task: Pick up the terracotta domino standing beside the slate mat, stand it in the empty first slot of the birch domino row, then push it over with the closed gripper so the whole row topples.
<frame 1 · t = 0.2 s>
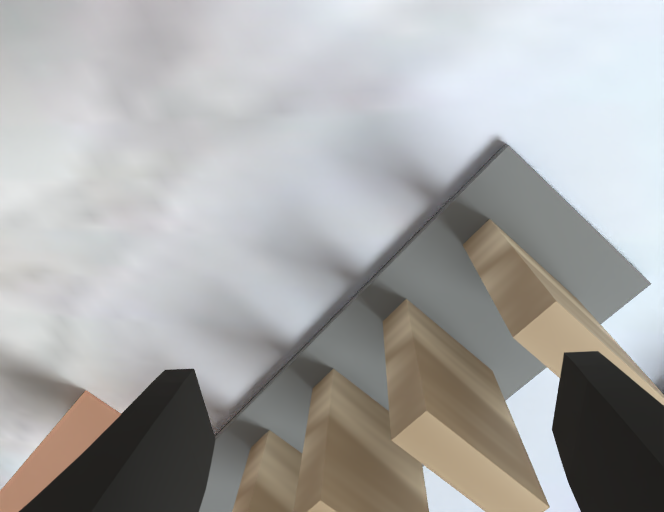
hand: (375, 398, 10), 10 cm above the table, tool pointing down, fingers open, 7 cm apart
domino 4: (438, 346, 21), resting on slate mat
slate mat: (365, 405, 23), on the table
domino 3: (365, 411, 22), resting on slate mat
domino 2: (301, 468, 24), resting on slate mat
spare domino: (122, 429, 24), on the table
domino 5: (521, 272, 20), resting on slate mat
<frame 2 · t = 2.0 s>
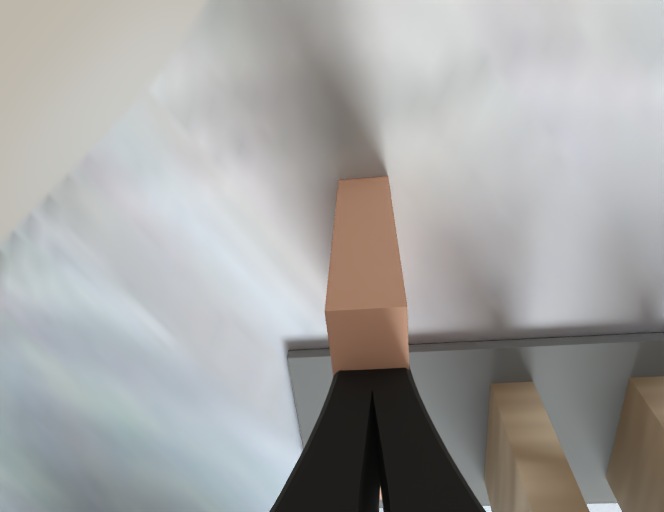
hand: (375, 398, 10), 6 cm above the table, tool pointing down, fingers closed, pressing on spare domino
slate mat: (632, 421, 18), on the table
domino 3: (637, 430, 18), resting on slate mat
domino 2: (507, 434, 18), resting on slate mat
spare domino: (368, 248, 16), on the table, touching gripper
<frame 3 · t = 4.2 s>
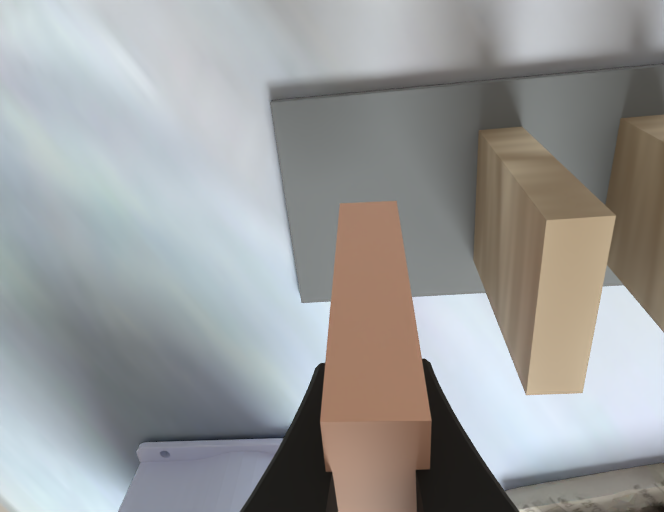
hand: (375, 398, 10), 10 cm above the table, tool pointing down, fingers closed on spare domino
slate mat: (623, 184, 18), on the table
domino 3: (629, 188, 17), resting on slate mat
domino 2: (496, 198, 18), resting on slate mat
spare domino: (371, 287, 14), point 6 cm above the table, touching gripper
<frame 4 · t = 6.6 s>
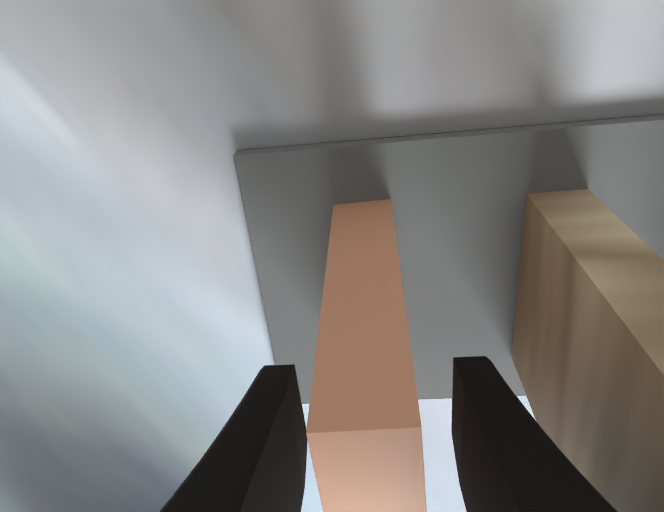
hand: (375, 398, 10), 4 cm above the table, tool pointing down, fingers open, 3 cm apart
domino 2: (546, 281, 13), resting on slate mat
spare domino: (371, 288, 13), resting on slate mat
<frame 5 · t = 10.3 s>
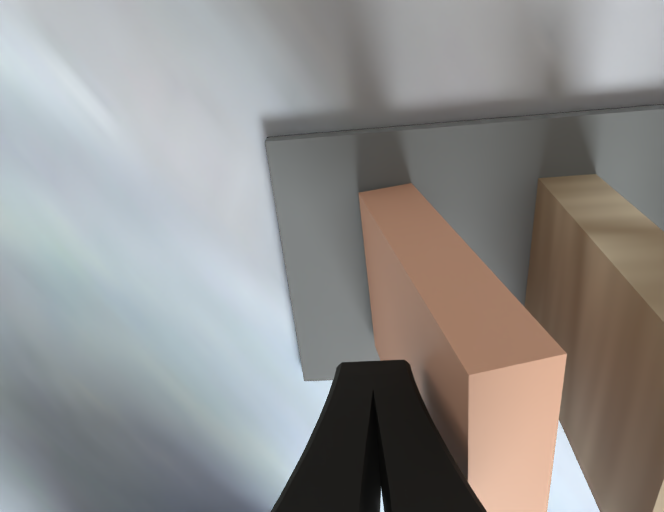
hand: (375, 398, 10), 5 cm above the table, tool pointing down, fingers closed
domino 2: (555, 261, 14), resting on slate mat
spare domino: (391, 271, 14), point 1 cm above the table, tilted 12°, touching slate mat
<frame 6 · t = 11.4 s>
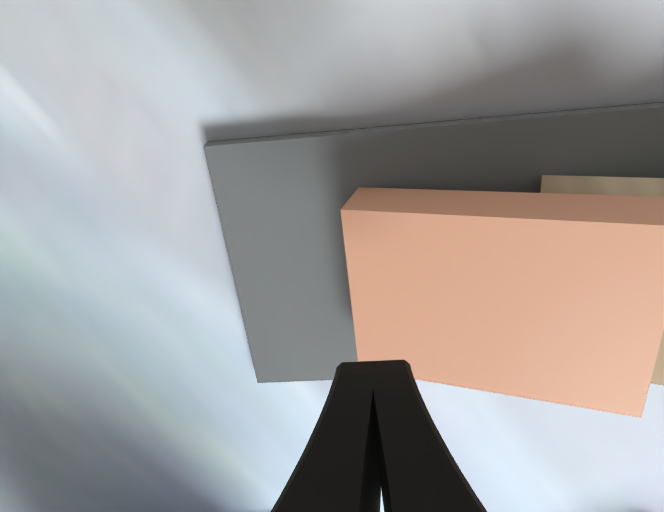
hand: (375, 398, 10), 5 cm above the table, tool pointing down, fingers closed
slate mat: (660, 247, 14), on the table
domino 2: (532, 273, 13), point 1 cm above the table, tilted 72°, touching domino 3, slate mat, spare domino
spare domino: (358, 282, 14), point 1 cm above the table, tilted 72°, touching domino 2, slate mat
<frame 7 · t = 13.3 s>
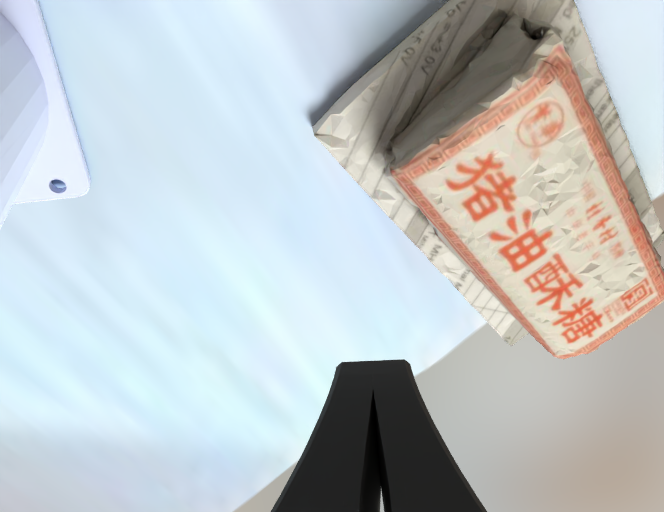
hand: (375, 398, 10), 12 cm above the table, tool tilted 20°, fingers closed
packaged product: (504, 181, 24), on the table
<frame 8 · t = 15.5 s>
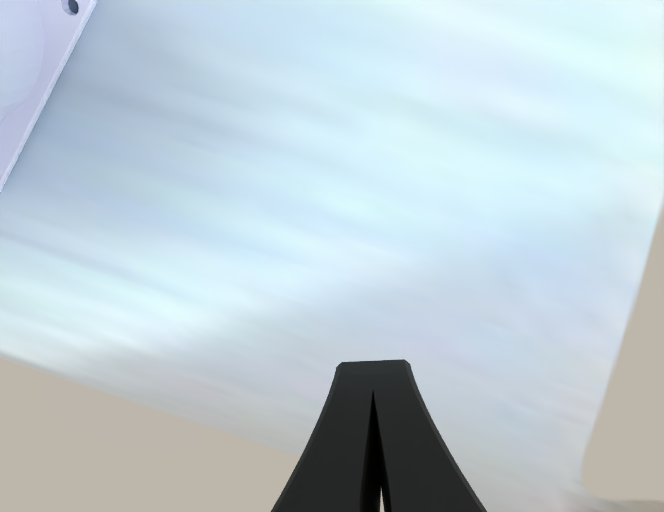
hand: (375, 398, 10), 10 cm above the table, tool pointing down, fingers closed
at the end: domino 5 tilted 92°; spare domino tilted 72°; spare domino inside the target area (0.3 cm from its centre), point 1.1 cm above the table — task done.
